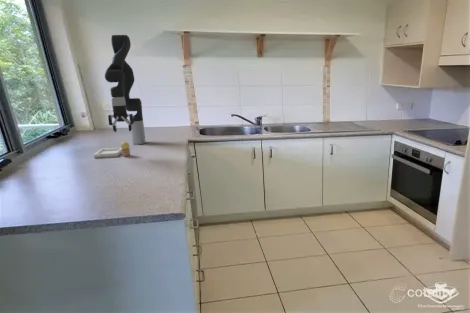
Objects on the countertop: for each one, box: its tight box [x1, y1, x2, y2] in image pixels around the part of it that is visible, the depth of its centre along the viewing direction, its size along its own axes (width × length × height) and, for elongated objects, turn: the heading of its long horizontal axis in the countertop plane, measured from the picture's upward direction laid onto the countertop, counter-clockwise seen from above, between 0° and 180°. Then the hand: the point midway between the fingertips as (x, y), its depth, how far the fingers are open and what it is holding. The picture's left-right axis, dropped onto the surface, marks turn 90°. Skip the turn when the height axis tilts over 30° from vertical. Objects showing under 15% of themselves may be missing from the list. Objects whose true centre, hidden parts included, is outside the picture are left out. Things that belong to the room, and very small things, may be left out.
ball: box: [120, 141, 130, 149], centre depth 172 cm, size 5×5×5 cm
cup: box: [121, 147, 131, 158], centre depth 173 cm, size 5×5×5 cm
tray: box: [93, 147, 122, 159], centre depth 178 cm, size 14×14×2 cm
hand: (122, 131), depth 170 cm, fingers open, 8 cm apart
